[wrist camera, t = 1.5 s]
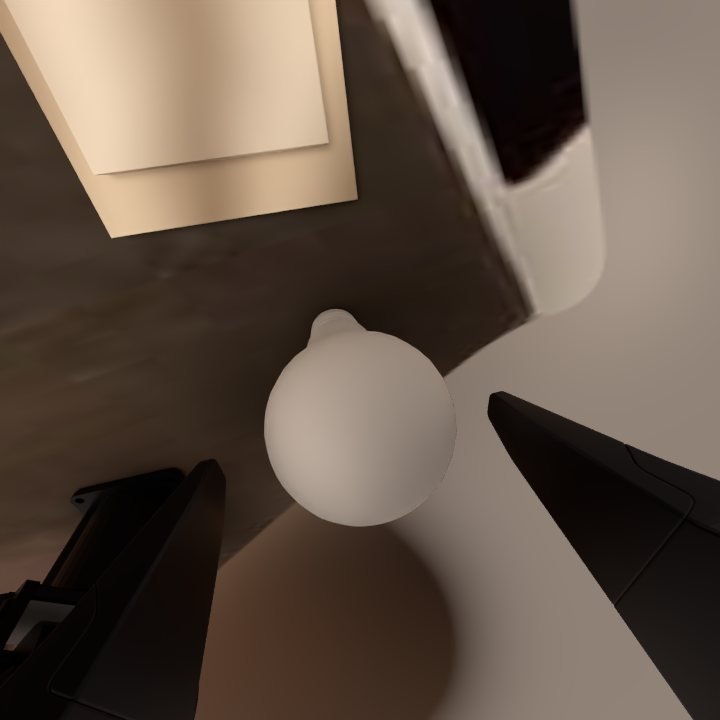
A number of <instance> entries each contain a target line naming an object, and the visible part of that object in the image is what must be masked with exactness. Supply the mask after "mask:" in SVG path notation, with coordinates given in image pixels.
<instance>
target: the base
mask: <svg viewBox="0 0 720 720" xmlns="http://www.w3.org/2000/svg"><path fill="white" fill-rule="evenodd" d="M0 32H1V34H2V35H3V37H4V39H5V41H6V43H7V45H8V47H9V48H10V50H11V52H12V54H13V56H14V58H15V60H16V61H17V63H18V65H19V67H20V69H21V71H22V73H23V74H24V76H25V78H26V80H27V82H28V84H29V86H30V88H31V89H32V91H33V93H34V95H35V97H36V99H37V101H38V102H39V104H40V106H41V108H42V110H43V112H44V114H45V115H46V117H47V119H48V121H49V123H50V125H51V127H52V128H53V130H54V132H55V134H56V136H57V138H58V140H59V141H60V143H61V145H62V147H63V149H64V151H65V153H66V154H67V156H68V158H69V160H70V162H71V164H72V166H73V167H74V169H75V171H76V173H77V175H78V177H79V179H80V180H81V182H82V184H83V186H84V188H85V190H86V192H87V193H88V195H89V197H90V199H91V201H92V203H93V205H94V206H95V208H96V210H97V212H98V214H99V216H100V218H101V220H102V221H103V223H104V225H105V227H106V229H107V231H108V233H109V234H110V236H111V238H114V237H120V236H127V235H133V234H140V233H146V232H152V231H159V230H165V229H171V228H178V227H184V226H191V225H197V224H203V223H210V222H216V221H222V220H229V219H235V218H242V217H248V216H254V215H261V214H267V213H273V212H280V211H286V210H292V209H299V208H305V207H312V206H318V205H324V204H331V203H337V202H343V201H350V200H356V199H358V197H357V188H356V179H355V170H354V162H353V153H352V144H351V135H350V126H349V117H348V109H347V100H346V91H345V82H344V73H343V64H342V55H341V47H340V38H339V29H338V20H337V11H336V2H335V0H0Z"/></svg>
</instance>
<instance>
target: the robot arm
mask: <svg viewBox="0 0 720 720" xmlns="http://www.w3.org/2000/svg"><path fill="white" fill-rule="evenodd" d="M488 417H489V420H490V421H491V423H492V425H493V427H494V429H495V431H496V432H497V434H498V436H499V438H500V440H501V441H502V443H503V445H504V447H505V449H506V450H507V452H508V454H509V455H510V457H511V459H512V460H513V462H514V463H515V465H516V466H517V467H518V469H519V471H520V472H521V473H522V475H523V476H524V478H525V479H526V481H527V482H528V483H529V485H530V486H531V488H532V489H533V491H534V492H535V493H536V495H537V496H538V498H539V499H540V501H541V502H542V504H543V505H544V506H545V508H546V509H547V510H548V512H549V513H550V515H551V516H552V518H553V519H554V521H555V522H556V524H557V525H558V527H559V528H560V529H561V531H562V532H563V533H564V535H565V537H566V538H567V539H568V541H569V542H570V544H571V545H572V547H573V548H574V549H575V551H576V552H577V554H578V555H579V557H580V558H581V559H582V561H583V562H584V564H585V565H586V567H587V568H588V570H589V571H590V572H591V574H592V575H593V577H594V578H595V580H596V581H597V582H598V584H599V585H600V587H601V588H602V590H603V591H604V592H605V594H606V595H607V597H608V598H609V600H610V601H611V602H612V604H614V607H615V609H616V610H617V611H618V613H619V614H620V616H621V617H622V619H623V620H624V621H625V623H626V624H627V626H628V627H629V629H630V630H631V631H632V633H633V634H634V636H635V637H636V639H637V640H638V641H639V643H640V644H641V646H642V647H643V649H644V650H645V652H646V653H647V654H648V656H649V657H650V659H651V660H652V662H653V663H654V664H655V666H656V667H657V669H658V670H659V672H660V673H661V674H662V676H663V677H664V679H665V680H666V682H667V683H668V684H669V686H670V687H671V689H672V690H673V692H674V693H675V694H676V696H677V697H678V699H679V700H680V702H681V703H682V705H683V706H684V707H685V709H686V710H687V712H688V713H689V714H690V716H691V717H692V719H693V720H720V481H719V480H716V479H714V478H711V477H708V476H706V475H703V474H700V473H697V472H695V471H692V470H689V469H687V468H684V467H682V466H679V465H676V464H674V463H671V462H668V461H665V460H663V459H661V458H659V457H656V456H654V455H651V454H649V453H647V452H644V451H641V450H639V449H637V448H635V447H632V446H630V445H628V444H625V445H624V443H623V442H620V441H618V440H616V439H614V438H611V437H609V436H606V435H604V434H602V433H599V432H597V431H595V430H593V429H590V428H588V427H586V426H583V425H581V424H578V423H576V422H574V421H572V420H569V419H567V418H564V417H562V416H560V415H558V414H555V413H553V412H551V411H548V410H546V409H544V408H541V407H539V406H537V405H534V404H532V403H529V402H527V401H525V400H522V399H520V398H518V397H516V396H513V395H511V394H509V393H506V392H504V391H500V392H496V393H492V394H491V395H490V397H489V404H488ZM225 493H226V478H225V475H224V473H223V471H222V470H221V468H220V466H219V464H218V463H217V461H216V460H215V459H209V460H205V461H201V462H199V463H198V464H197V465H196V467H195V468H194V469H193V470H192V471H191V472H190V474H189V475H188V476H187V477H186V478H185V479H184V478H183V476H182V475H181V473H180V472H179V471H177V470H173V469H171V470H165V471H161V472H157V473H152V474H148V475H144V476H139V477H135V478H131V479H126V480H122V481H118V482H114V483H109V484H105V485H101V486H96V487H92V488H88V489H83V490H79V491H76V492H75V493H74V494H73V496H72V497H71V499H70V502H71V503H72V504H73V505H74V506H75V507H76V508H78V509H79V510H80V511H81V512H82V513H83V514H84V517H83V518H82V520H81V522H80V523H79V525H78V526H77V528H76V530H75V531H74V533H73V534H72V536H71V538H70V539H69V541H68V543H67V544H66V546H65V547H64V549H63V551H62V552H61V554H60V555H59V557H58V559H57V560H56V562H55V564H54V565H53V567H52V568H51V570H50V572H49V573H48V575H47V576H46V578H45V580H44V581H43V583H42V584H40V582H39V581H33V580H26V581H25V582H24V583H23V584H22V585H21V587H20V588H19V589H18V590H17V591H16V592H9V593H5V594H0V720H194V717H195V712H196V707H197V701H198V691H199V680H200V674H201V667H202V661H203V656H204V649H205V643H206V637H207V630H208V625H209V618H210V612H211V605H212V600H213V594H214V588H215V581H216V575H217V569H218V563H219V557H220V551H221V545H222V538H223V530H224V513H225ZM5 644H12V645H17V647H16V648H15V649H14V651H8V650H3V648H4V646H5Z"/></svg>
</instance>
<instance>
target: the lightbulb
mask: <svg viewBox="0 0 720 720" xmlns="http://www.w3.org/2000/svg"><path fill="white" fill-rule="evenodd" d="M264 437H265V443H266V448H267V452H268V456H269V460H270V463H271V465H272V468H273V470H274V472H275V475H276V476H277V478H278V480H279V481H280V483H281V485H282V486H283V487H284V488H285V490H286V491H287V492H288V493H289V494H290V495H291V496H292V497H293V498H294V499H295V500H296V501H297V502H298V503H299V504H300V505H301V506H303V507H304V508H305V509H307V510H308V511H310V512H311V513H313V514H314V515H316V516H318V517H320V518H322V519H325V520H328V521H330V522H334V523H339V524H343V525H349V526H372V525H377V524H382V523H386V522H389V521H392V520H395V519H397V518H400V517H402V516H404V515H406V514H407V513H409V512H411V511H413V510H414V509H415V508H417V507H418V506H419V505H421V504H422V503H423V502H424V501H425V500H426V499H427V498H428V497H429V496H430V494H431V493H432V492H433V491H434V490H435V489H436V488H437V486H438V485H439V484H440V482H441V481H442V479H443V477H444V475H445V473H446V471H447V468H448V466H449V463H450V461H451V458H452V455H453V450H454V444H455V438H456V418H455V411H454V405H453V402H452V399H451V396H450V393H449V391H448V388H447V385H446V383H445V380H444V379H443V378H442V376H441V375H440V373H439V372H438V370H437V369H436V368H435V366H434V365H433V364H432V362H431V361H430V360H429V359H428V358H427V357H426V356H425V355H423V354H422V353H421V352H420V351H419V350H418V349H416V348H414V347H413V346H411V345H410V344H408V343H406V342H404V341H402V340H400V339H399V338H397V337H395V336H391V335H388V334H384V333H381V332H373V331H367V330H366V329H365V328H364V327H362V326H361V325H360V324H358V322H357V321H356V320H355V318H354V317H353V316H352V315H351V314H350V313H348V312H347V311H345V310H341V309H330V310H326V311H324V312H322V313H321V314H320V315H318V316H317V318H316V319H315V320H314V322H313V324H312V329H311V337H310V339H309V341H308V344H307V348H305V349H304V350H303V351H301V352H300V353H299V354H297V355H296V356H295V357H294V358H293V359H292V360H291V361H290V362H289V363H288V365H287V366H286V367H285V368H284V369H283V371H282V373H281V374H280V376H279V378H278V380H277V381H276V383H275V385H274V387H273V389H272V391H271V393H270V396H269V400H268V403H267V407H266V412H265V421H264Z"/></svg>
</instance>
